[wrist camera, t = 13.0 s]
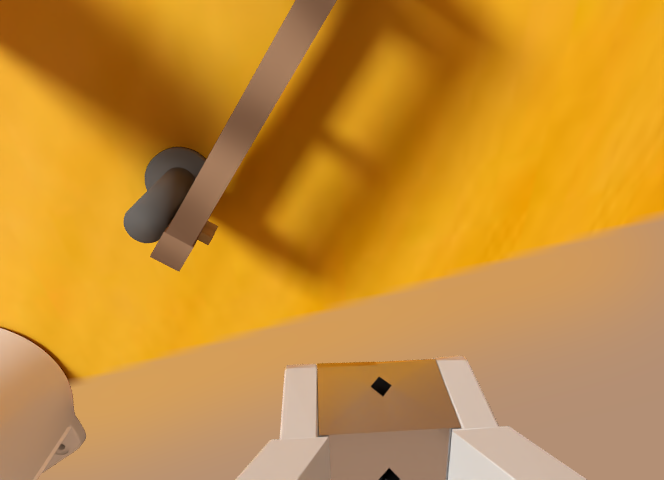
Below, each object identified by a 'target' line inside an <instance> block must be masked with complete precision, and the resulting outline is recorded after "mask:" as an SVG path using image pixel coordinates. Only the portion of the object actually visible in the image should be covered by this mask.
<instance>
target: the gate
mask: <svg viewBox="0 0 664 480" xmlns="http://www.w3.org/2000/svg"><path fill="white" fill-rule="evenodd" d="M336 1H337V0H296V1H295V2H294V4H293V6H292V8H291V10H290V11H289V13H288V15H287V17H286V18H285V20H284V22H283V24H282V26H281V27H280V29H279V31H278V33H277V35H276V36H275V38H274V40H273V42H272V43H271V45H270V47H269V49H268V51H267V52H266V54H265V56H264V58H263V60H262V61H261V63H260V65H259V67H258V68H257V70H256V72H255V74H254V76H253V77H252V79H251V81H250V83H249V85H248V86H247V88H246V90H245V92H244V93H243V95H242V97H241V99H240V101H239V102H238V104H237V106H236V108H235V109H234V111H233V113H232V115H231V117H230V118H229V120H228V122H227V124H226V126H225V127H224V129H223V131H222V133H221V134H220V136H219V138H218V140H217V142H216V143H215V145H214V147H213V149H212V151H211V152H210V154H209V156H208V158H207V159H206V161H205V163H204V165H203V167H202V168H201V170H200V172H199V174H198V176H197V177H196V179H195V181H194V183H193V184H192V186H191V188H190V190H189V192H188V193H187V195H186V197H185V199H184V201H183V202H182V204H181V206H180V208H179V209H178V211H177V213H176V215H175V217H174V218H173V220H172V221H171V222H170V224H169V225H168V227H167V228H166V229H165V231H164V232H163V234H162V236H161V238H160V240H159V241H158V243H157V245H156V247H155V248H154V250H153V252H152V254H151V256H150V257H152V258H154V259H155V260H157V261H159V262H161V263H163V264H165V265H167V266H169V267H171V268H173V269H175V270H177V271H180V269H181V267H182V266H183V264H184V262H185V261H186V259H187V257H188V256H189V254H190V252H191V250H192V249H193V247H194V245H195V243H196V241H197V240H199V241H201V242H203V243H205V244H207V245H209V243H210V241H211V240H212V238H213V236H214V234H215V231H216V229H217V227H218V226H217V225H215V224H213V223H211V222H209V221H208V219H209V217H210V215H211V213H212V211H213V210H214V208H215V206H216V204H217V203H218V201H219V199H220V198H221V196H222V194H223V193H224V191H225V189H226V187H227V186H228V184H229V182H230V181H231V179H232V177H233V176H234V174H235V172H236V170H237V169H238V167H239V165H240V164H241V162H242V160H243V159H244V157H245V155H246V154H247V152H248V150H249V148H250V147H251V145H252V143H253V142H254V140H255V138H256V137H257V135H258V133H259V131H260V130H261V128H262V126H263V125H264V123H265V121H266V120H267V118H268V116H269V114H270V113H271V111H272V109H273V108H274V106H275V104H276V103H277V101H278V99H279V97H280V96H281V94H282V92H283V91H284V89H285V87H286V86H287V84H288V82H289V81H290V79H291V77H292V75H293V74H294V72H295V70H296V69H297V67H298V65H299V64H300V62H301V60H302V58H303V57H304V55H305V53H306V52H307V50H308V48H309V47H310V45H311V43H312V41H313V40H314V38H315V36H316V35H317V33H318V31H319V30H320V28H321V26H322V24H323V23H324V21H325V19H326V18H327V16H328V14H329V13H330V11H331V9H332V7H333V6H334V4H335V2H336Z"/></svg>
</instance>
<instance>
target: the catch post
mask: <svg viewBox="0 0 664 480" xmlns="http://www.w3.org/2000/svg"><path fill="white" fill-rule="evenodd" d="M205 161H206V159H205V158H204V157H203V156H202V155H201V154H199V153H198V152H196V151H194V150H191V149H188V148H184V147H172V148H168V149H166V150H163V151H162V152H160V153H159V154H158V155H156V156H155V157H154V158H153V159H152V160H151V161H150V163H149V164H148V166H147V169H146V172H145V185H146V189H147V192H146V193H145V194H144V195H143V196H142V197H141V198H140V199H139V200H138V201H137V202H136V203H135V204H134V205H133V206H132V207H131V208H130V209H129V210H128V211H127V212H126V214H125V217H124V227H125V229H126V231H127V233H128V234H129V235H130V236H131V237H132V238H133V239H135V240H137V241H139V242H142V243H153V242H156V241H158V240H159V239H160V238H161V236H162V234H163V232H164V231H165V229H166V228H167V227H168V225H169V224H170V222H171V221H172V220H173V218H174V217H175V215H176V213H177V211H178V209H179V208H180V206H181V204H182V202H183V201H184V199H185V197H186V195H187V193H188V192H189V190H190V188H191V186H192V184H193V183H194V181H195V179H196V177H197V176H198V174H199V172H200V170H201V168H202V167H203V165H204V163H205Z"/></svg>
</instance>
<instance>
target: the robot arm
mask: <svg viewBox="0 0 664 480" xmlns="http://www.w3.org/2000/svg"><path fill="white" fill-rule="evenodd" d="M280 430H281V431H280V439H277V440H270V441H269V442H268V443H267V444H266V445H265V446H264V448H263V449H262V450H261V451H260V452H259V453H258V454H257V455H256V457H255V458H254V459H253V460H252V461H251V462H250V463H249V464H248V466H247V467H246V468H245V469H244V470H243V471H242V472H241V474H240V475H239V476H238V477H237V478H236V479H235V480H587V479H585V478H584V477H582V476H581V475H579V474H578V473H576V472H575V471H574V470H572V469H571V468H569V467H568V466H566V465H565V464H563V463H562V462H560V461H559V460H557V459H556V458H555V457H553V456H551V455H550V454H549V453H547V452H546V451H544V450H543V449H541V448H540V447H539V446H537V445H536V444H534V443H533V442H531V441H530V440H528V439H527V438H525V437H524V436H522V435H521V434H520V433H518V432H517V431H515V430H514V429H512V428H511V427H509V426H504V427H499V425H498V423H497V421H496V418H495V416H494V414H493V412H492V410H491V408H490V406H489V404H488V402H487V400H486V398H485V396H484V394H483V392H482V390H481V387H480V385H479V383H478V381H477V379H476V377H475V375H474V373H473V371H472V369H471V367H470V365H469V363H468V360H467V359H466V358H465V357H464V356H451V357H438V358H433V359H421V360H404V361H387V362H353V363H322V364H317V365H316V364H302V365H287V367H286V369H285V376H284V389H283V403H282V416H281V429H280ZM85 439H86V434H85V431H84V429H83V427H82V425H81V424H80V422H79V420H78V419H77V417H76V416H75V413H74V406H73V395H72V390H71V387H70V384H69V382H68V379H67V377H66V376H65V374H64V372H63V371H62V369H61V368H60V367H59V365H58V364H57V363H56V362H55V361H54V360H53V359H52V358H51V357H50V356H49V355H48V354H47V353H46V352H45V351H44V350H42V349H41V348H40V347H38V346H37V345H35V344H34V343H32V342H31V341H29V340H27V339H25V338H24V337H22V336H20V335H17V334H15V333H13V332H10V331H7V330H5V329H1V328H0V480H37V479H38V478H39V476H40V475H41V473H43V472H44V471H46V470H47V469H49V468H50V467H52V466H53V465H55V464H56V463H58V462H59V461H61V460H62V459H64V458H65V457H67V456H68V455H70V454H71V453H73V452H74V451H76V450H77V449H78V448H79V447H80V446H81V445H82V443H83V442H84V440H85Z"/></svg>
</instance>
